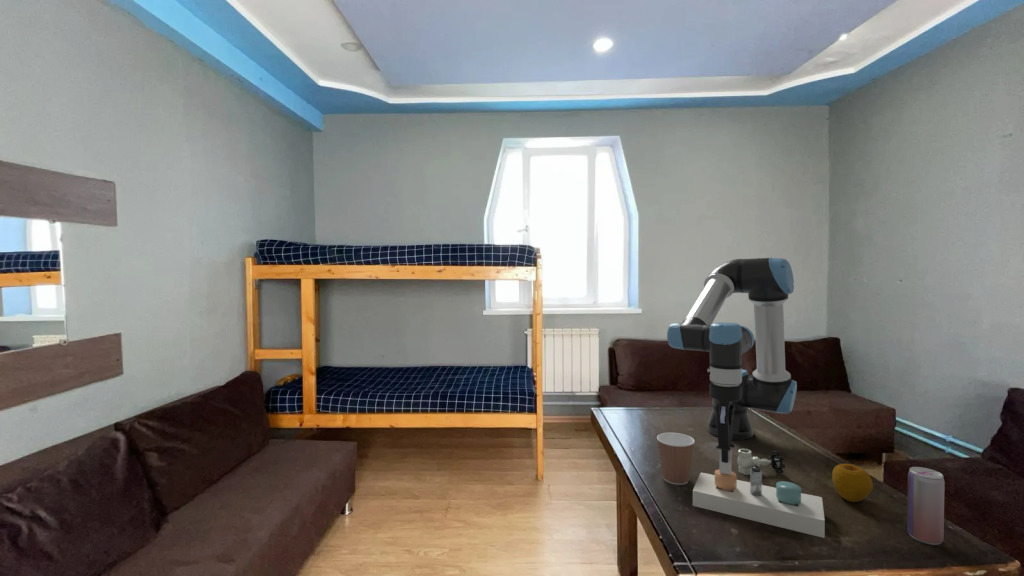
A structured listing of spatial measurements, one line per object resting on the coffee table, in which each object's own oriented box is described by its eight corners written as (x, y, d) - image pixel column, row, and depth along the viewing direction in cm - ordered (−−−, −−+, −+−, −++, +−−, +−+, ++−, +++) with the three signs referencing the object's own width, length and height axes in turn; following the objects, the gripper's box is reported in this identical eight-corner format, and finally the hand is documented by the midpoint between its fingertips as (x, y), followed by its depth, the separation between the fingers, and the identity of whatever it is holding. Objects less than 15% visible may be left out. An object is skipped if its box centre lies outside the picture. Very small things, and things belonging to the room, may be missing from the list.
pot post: (750, 490, 116) (750, 464, 116) (762, 492, 114) (762, 466, 114) (749, 494, 114) (749, 468, 113) (761, 497, 112) (761, 470, 112)
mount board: (700, 486, 127) (700, 472, 127) (821, 513, 112) (821, 497, 112) (692, 505, 117) (692, 490, 116) (824, 538, 102) (824, 520, 102)
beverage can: (900, 531, 104) (901, 467, 103) (923, 529, 104) (925, 465, 104) (925, 547, 98) (927, 479, 97) (951, 545, 98) (952, 477, 98)
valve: (742, 477, 132) (785, 477, 131) (742, 455, 132) (785, 455, 131) (733, 467, 138) (773, 467, 138) (733, 446, 138) (773, 446, 137)
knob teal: (776, 506, 114) (776, 479, 114) (800, 512, 111) (801, 484, 111) (775, 516, 110) (775, 488, 109) (801, 522, 107) (801, 493, 107)
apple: (881, 505, 115) (881, 471, 114) (852, 509, 113) (852, 474, 113) (851, 489, 123) (851, 457, 123) (823, 492, 122) (824, 460, 122)
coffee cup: (693, 473, 134) (693, 434, 134) (695, 490, 125) (695, 447, 124) (657, 469, 138) (657, 430, 137) (656, 484, 128) (656, 443, 128)
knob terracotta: (716, 493, 121) (716, 467, 121) (737, 498, 119) (737, 471, 118) (713, 501, 117) (713, 475, 117) (735, 507, 114) (735, 479, 114)
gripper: (713, 376, 124) (713, 460, 125) (705, 387, 113) (705, 479, 114) (744, 379, 120) (743, 466, 121) (739, 390, 109) (738, 486, 110)
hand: (725, 472), depth 118 cm, fingers closed
